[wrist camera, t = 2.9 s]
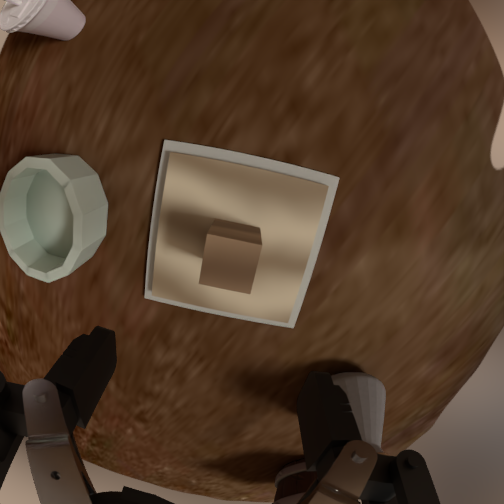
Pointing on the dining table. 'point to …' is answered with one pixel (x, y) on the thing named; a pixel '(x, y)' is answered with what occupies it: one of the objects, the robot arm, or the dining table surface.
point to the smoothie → (42, 18)
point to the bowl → (52, 214)
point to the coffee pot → (365, 404)
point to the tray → (248, 161)
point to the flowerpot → (293, 482)
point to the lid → (234, 236)
